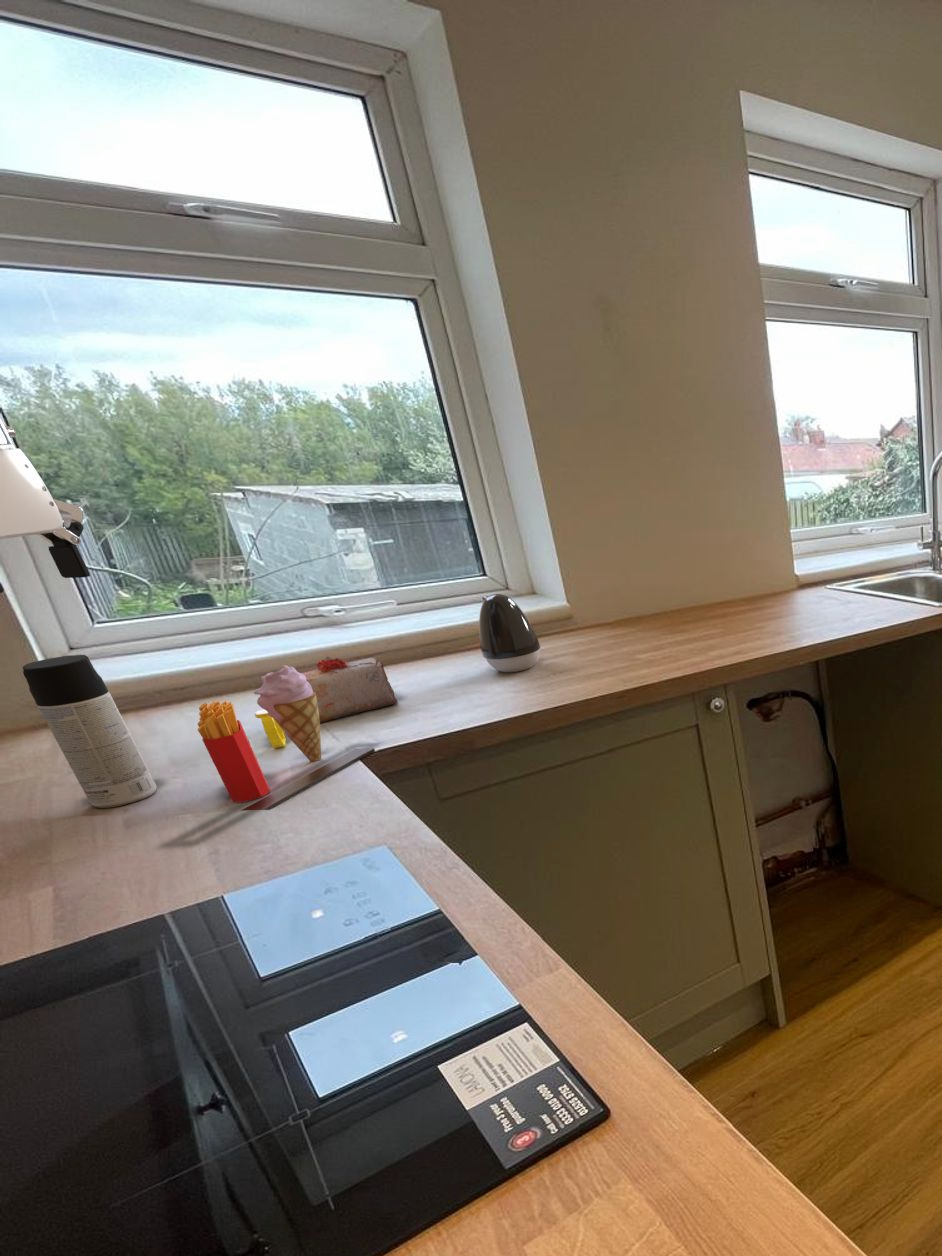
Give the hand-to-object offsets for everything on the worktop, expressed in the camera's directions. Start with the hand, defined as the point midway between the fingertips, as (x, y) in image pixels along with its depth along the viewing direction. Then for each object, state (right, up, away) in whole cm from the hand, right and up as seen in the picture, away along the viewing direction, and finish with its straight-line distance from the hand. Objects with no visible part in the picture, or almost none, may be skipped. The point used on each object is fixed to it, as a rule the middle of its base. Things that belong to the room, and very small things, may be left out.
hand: (35, 584), depth 101 cm
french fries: (+16, -27, +12) cm, 33 cm away
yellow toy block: (+5, -20, +29) cm, 36 cm away
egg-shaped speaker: (+22, -4, +64) cm, 67 cm away
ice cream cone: (+16, -22, +22) cm, 35 cm away
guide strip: (+22, -27, +11) cm, 36 cm away
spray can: (-2, -28, +13) cm, 30 cm away
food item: (+5, -14, +43) cm, 45 cm away
